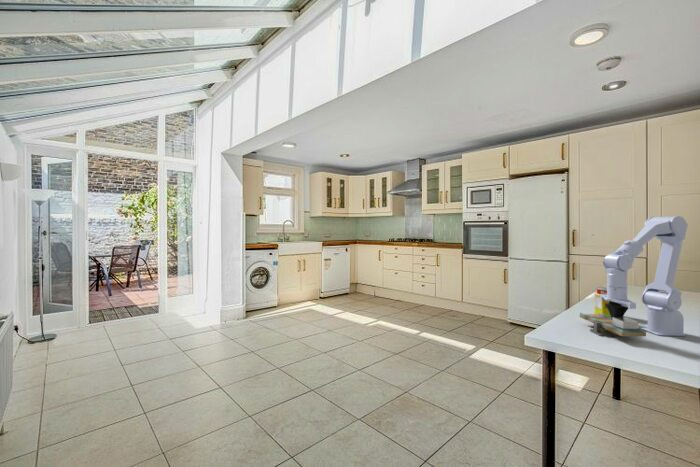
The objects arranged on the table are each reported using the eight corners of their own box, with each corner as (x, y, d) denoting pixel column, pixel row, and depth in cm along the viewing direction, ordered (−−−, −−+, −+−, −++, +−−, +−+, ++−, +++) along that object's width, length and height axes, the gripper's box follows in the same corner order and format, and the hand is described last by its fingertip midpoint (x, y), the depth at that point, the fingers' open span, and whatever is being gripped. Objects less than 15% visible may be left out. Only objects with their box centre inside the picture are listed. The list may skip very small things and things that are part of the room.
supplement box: (618, 323, 132) (618, 297, 132) (602, 322, 133) (602, 296, 133) (610, 319, 138) (610, 294, 138) (594, 318, 139) (594, 293, 139)
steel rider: (626, 326, 115) (626, 317, 115) (638, 331, 110) (638, 321, 110) (612, 326, 116) (612, 317, 116) (623, 331, 111) (623, 321, 111)
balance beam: (579, 317, 131) (579, 312, 131) (600, 317, 131) (600, 312, 131) (621, 336, 109) (621, 331, 109) (646, 336, 109) (646, 331, 109)
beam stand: (590, 331, 122) (590, 320, 122) (623, 331, 121) (623, 320, 121) (599, 335, 117) (599, 324, 117) (634, 336, 116) (634, 324, 116)
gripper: (591, 283, 124) (591, 317, 124) (621, 290, 110) (620, 329, 110) (610, 283, 124) (610, 317, 124) (642, 290, 109) (642, 329, 109)
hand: (616, 323), depth 117 cm, fingers closed
